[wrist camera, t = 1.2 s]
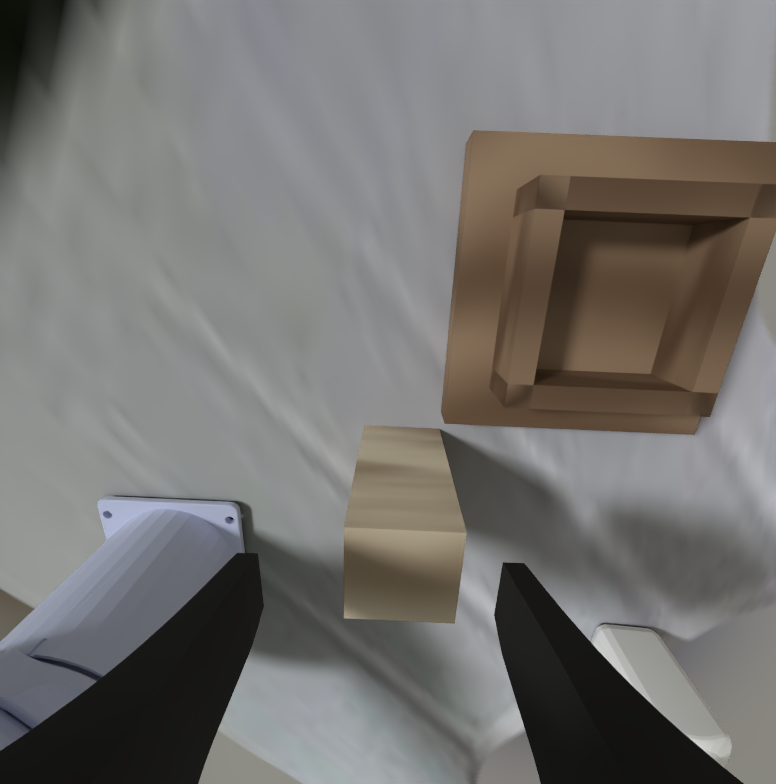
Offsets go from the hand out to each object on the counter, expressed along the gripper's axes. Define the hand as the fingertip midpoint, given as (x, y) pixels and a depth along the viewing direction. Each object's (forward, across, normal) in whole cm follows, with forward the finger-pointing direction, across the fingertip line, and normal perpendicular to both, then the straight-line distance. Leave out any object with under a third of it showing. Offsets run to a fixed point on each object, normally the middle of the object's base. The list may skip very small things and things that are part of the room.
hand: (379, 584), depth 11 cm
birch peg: (+10, -1, +1) cm, 10 cm away
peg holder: (+9, -9, -8) cm, 15 cm away
